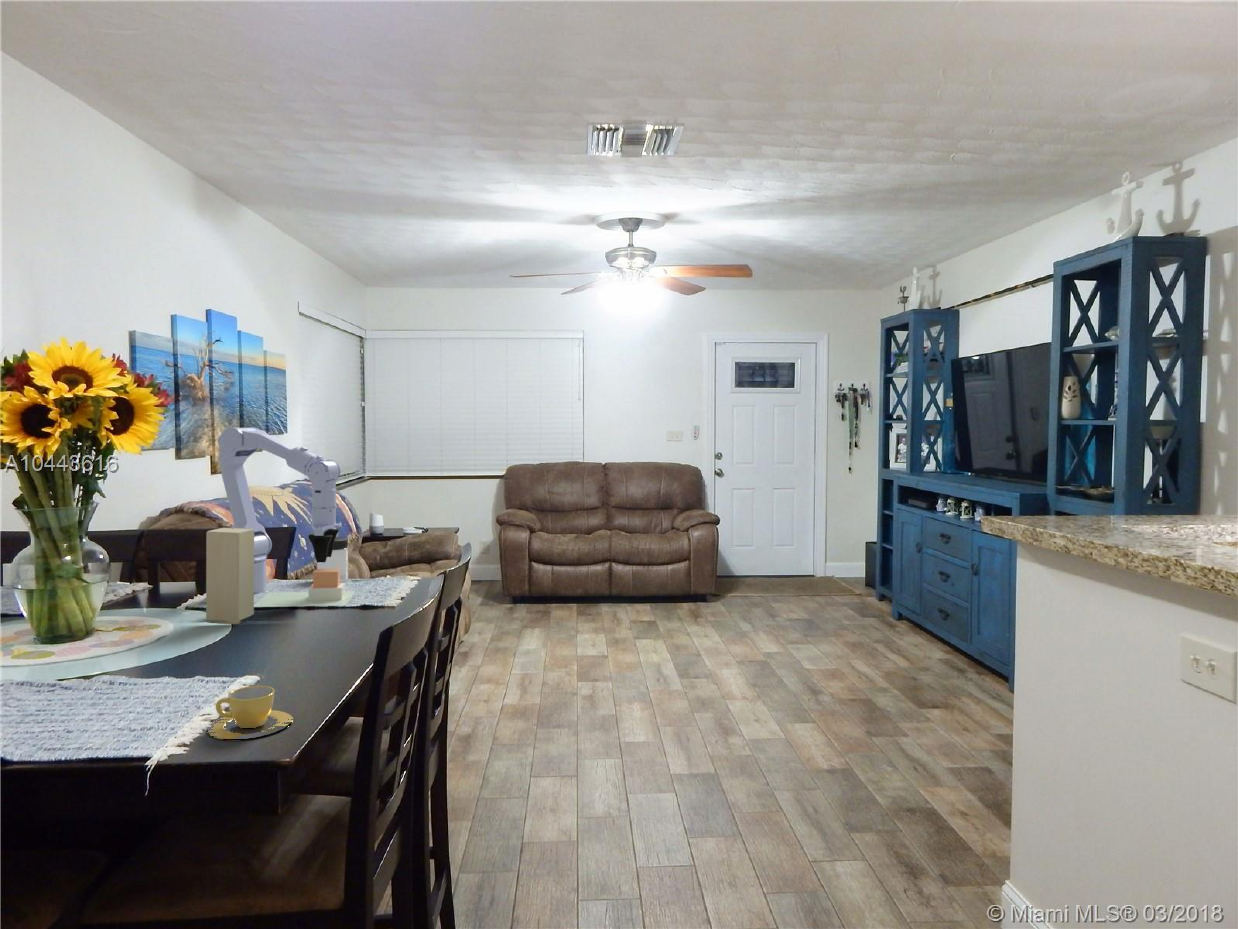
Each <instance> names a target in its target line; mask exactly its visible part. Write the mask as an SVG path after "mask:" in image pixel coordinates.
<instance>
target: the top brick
mask: <svg viewBox="0 0 1238 929" xmlns="http://www.w3.org/2000/svg"><path fill="white" fill-rule="evenodd" d="M340 583H341V582H340V569H317V568H316V569H314V570H313V572H312V585H313V588H325V587H338V586H339V585H340Z"/></svg>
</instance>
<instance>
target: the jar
mask: <svg viewBox="0 0 1238 929" xmlns="http://www.w3.org/2000/svg"><path fill="white" fill-rule="evenodd" d="M348 541H349V540H348V538H347V537H343V536H342V537H341V536H336V538H335V541H334V546H333V551H332V555H331V557H327V559H326V562H317V561H316V564H317V566H316V569H340V580H346V581H347V580H348V579H349V550H348V549H349V546H348V545H349V542H348ZM346 581H340V583H345V582H346Z"/></svg>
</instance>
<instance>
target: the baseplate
mask: <svg viewBox="0 0 1238 929" xmlns="http://www.w3.org/2000/svg"><path fill="white" fill-rule="evenodd" d="M355 593H356V590H345V596H344V597H343V599H342V600H309V591H287V592H285V591H284V592H282V591H281V592H279V591H277V592H267V593H266V594H264V596H262V597H261V598H260V599H259V600H258V601H257V602H256V603H254V608H274V607H275V608H278V607H279V608H281V607H316V606H317V607H318V606H319V607H322V606H347V605H348V604H349V602H350V600H351V599H352V597H353V596H354V595H355Z"/></svg>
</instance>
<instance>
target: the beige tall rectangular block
mask: <svg viewBox="0 0 1238 929" xmlns="http://www.w3.org/2000/svg"><path fill="white" fill-rule="evenodd" d="M205 536H206V538H205V539H206V544H205V545H206V546H205V547H206V548H205V549H206V550H205V551H206V552H205V554H206V556H205V559H206V568H205V569H206V570H205V572H206V573H205V574H206V575H205V576H206V577H205V578H206V580H205V583H206V585H205V586H206V587H205V588H206V590H205V595H206V597H205V599H206V600H205V601H206V602H205V610H206V612H205V615H206V616H205V620H206V623H208V624H211V623H212V624H224V625H225V624H229V625H239V624H242V623H244V622H246V621H247V620H246V619H247V618H249V617H251V616H253V615H254V614H255V612H254V611H255V607H254V605H255V593H254V529H239V528H234V527H220V528H215V529H210V530H207V531H206V535H205Z"/></svg>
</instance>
